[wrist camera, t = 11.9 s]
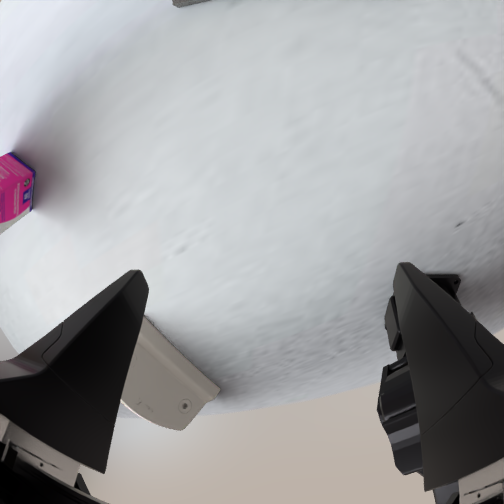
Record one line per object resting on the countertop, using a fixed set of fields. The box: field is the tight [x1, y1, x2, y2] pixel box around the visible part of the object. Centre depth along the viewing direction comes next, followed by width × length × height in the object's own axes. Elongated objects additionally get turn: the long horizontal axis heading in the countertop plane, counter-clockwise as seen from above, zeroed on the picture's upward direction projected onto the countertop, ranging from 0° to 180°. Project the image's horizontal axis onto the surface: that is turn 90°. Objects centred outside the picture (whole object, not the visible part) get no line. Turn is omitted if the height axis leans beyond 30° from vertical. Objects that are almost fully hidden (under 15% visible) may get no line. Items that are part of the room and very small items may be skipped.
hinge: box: [120, 317, 220, 431], centre depth 33 cm, size 17×5×10 cm, turn 32°
